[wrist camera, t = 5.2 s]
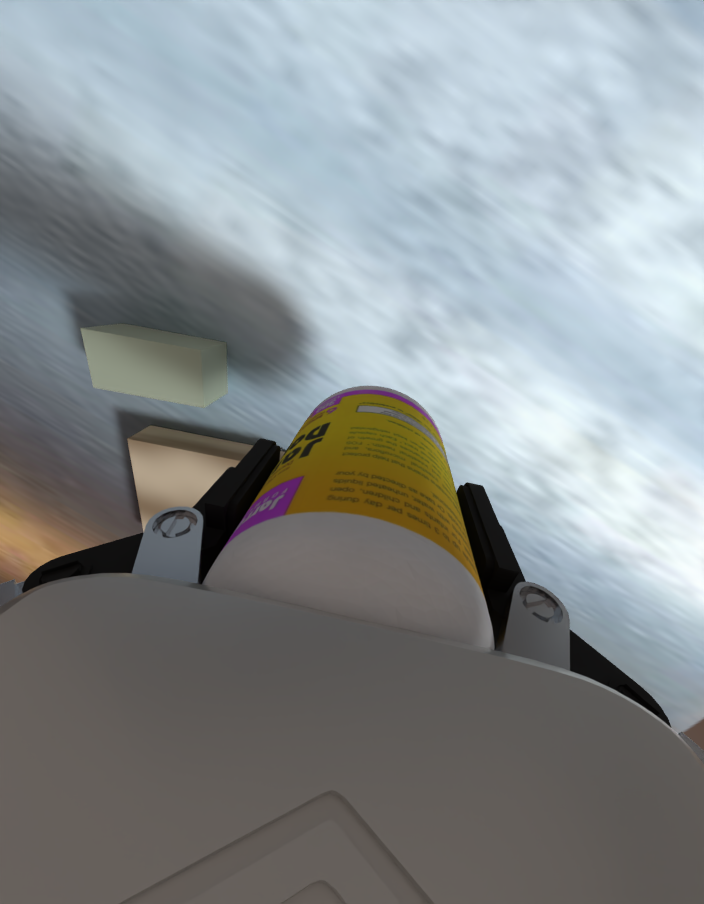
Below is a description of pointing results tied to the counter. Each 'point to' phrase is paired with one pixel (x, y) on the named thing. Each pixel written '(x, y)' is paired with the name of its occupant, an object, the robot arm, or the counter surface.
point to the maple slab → (178, 467)
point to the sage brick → (156, 363)
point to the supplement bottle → (363, 523)
